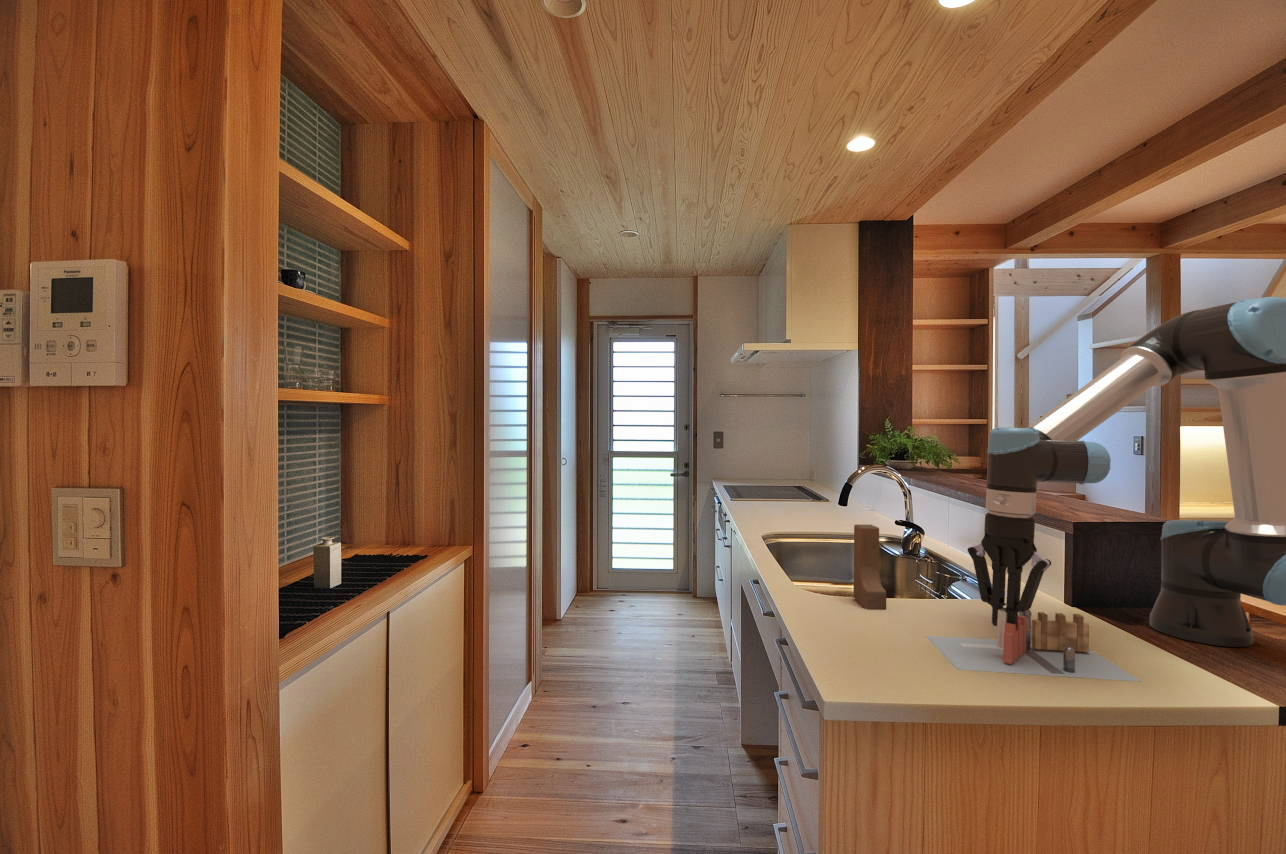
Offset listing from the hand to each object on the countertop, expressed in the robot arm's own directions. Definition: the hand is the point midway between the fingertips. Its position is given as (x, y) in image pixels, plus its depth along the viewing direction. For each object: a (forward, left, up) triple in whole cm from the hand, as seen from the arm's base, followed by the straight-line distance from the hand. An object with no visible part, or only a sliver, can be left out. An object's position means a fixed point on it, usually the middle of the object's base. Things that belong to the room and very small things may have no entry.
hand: (1003, 645), depth 104 cm
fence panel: (-2, 0, -2) cm, 3 cm away
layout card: (-4, -1, -2) cm, 5 cm away
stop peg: (-8, +5, -2) cm, 10 cm away
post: (-6, -5, -2) cm, 8 cm away
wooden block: (+16, -29, -3) cm, 33 cm away
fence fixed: (-12, -5, -2) cm, 13 cm away
